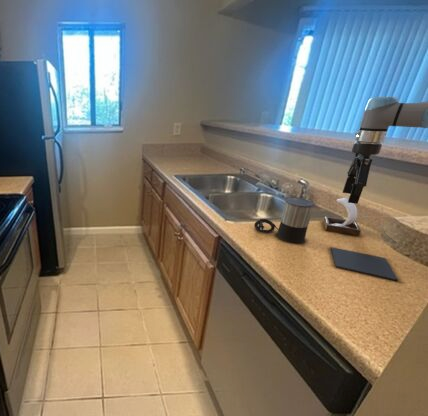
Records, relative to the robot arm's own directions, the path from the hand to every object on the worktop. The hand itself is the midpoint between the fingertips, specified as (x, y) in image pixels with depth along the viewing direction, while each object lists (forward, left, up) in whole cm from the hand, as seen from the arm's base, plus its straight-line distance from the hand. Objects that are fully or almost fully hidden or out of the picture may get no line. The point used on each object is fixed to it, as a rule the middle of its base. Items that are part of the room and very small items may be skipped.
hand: (349, 197), depth 107 cm
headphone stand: (0, 0, -13) cm, 13 cm away
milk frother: (+21, +19, -13) cm, 31 cm away
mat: (-2, +29, -13) cm, 32 cm away
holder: (0, 0, -13) cm, 13 cm away
